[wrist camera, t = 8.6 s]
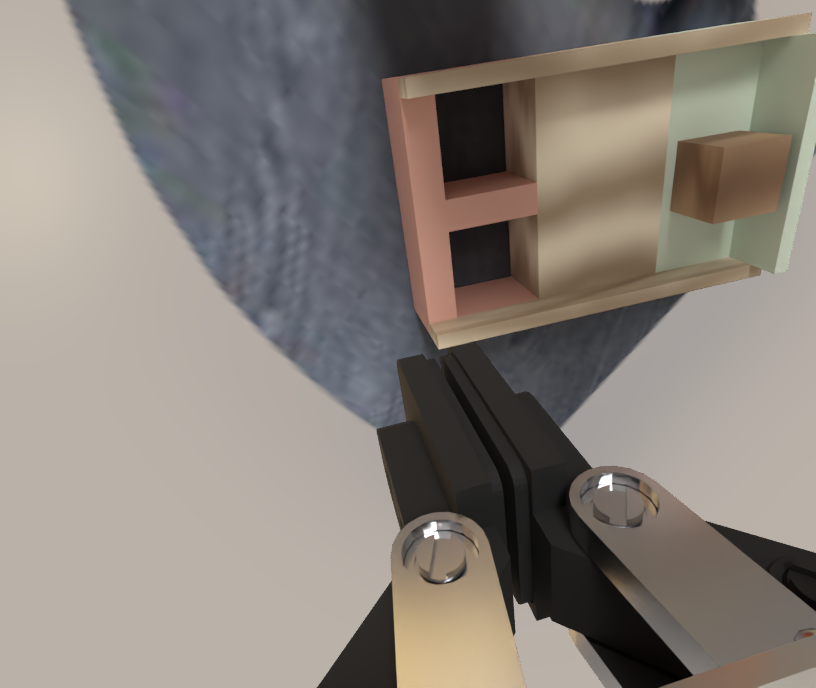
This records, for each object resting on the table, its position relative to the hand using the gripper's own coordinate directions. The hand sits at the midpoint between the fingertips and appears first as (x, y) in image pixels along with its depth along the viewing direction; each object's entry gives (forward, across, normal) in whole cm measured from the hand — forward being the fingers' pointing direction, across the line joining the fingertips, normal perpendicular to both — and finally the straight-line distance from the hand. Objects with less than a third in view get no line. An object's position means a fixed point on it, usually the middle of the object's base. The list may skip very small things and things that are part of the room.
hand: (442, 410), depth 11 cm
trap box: (+27, -16, +2) cm, 32 cm away
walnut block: (+22, -24, +2) cm, 33 cm away
